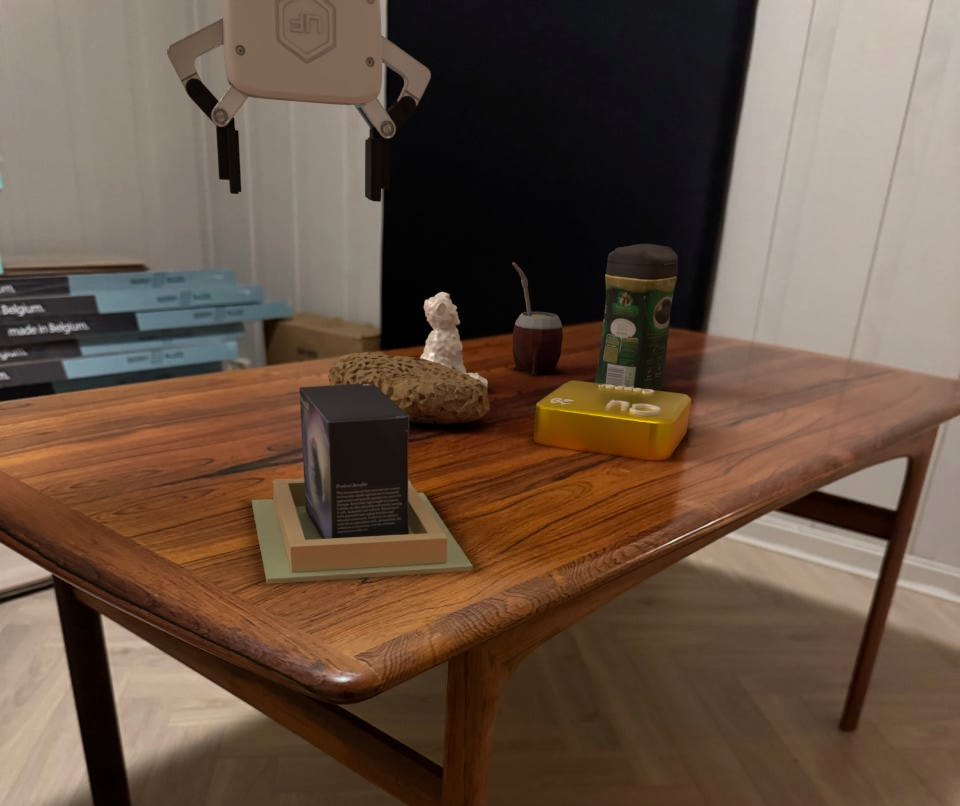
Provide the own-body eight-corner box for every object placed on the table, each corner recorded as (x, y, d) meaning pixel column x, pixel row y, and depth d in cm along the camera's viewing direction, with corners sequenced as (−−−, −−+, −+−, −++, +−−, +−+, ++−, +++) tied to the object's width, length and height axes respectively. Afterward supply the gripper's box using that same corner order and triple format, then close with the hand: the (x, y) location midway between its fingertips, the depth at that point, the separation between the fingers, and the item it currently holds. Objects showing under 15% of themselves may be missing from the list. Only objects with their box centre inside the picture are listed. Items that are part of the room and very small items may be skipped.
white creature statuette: (491, 395, 123) (496, 297, 117) (430, 399, 119) (432, 298, 114) (461, 379, 130) (464, 286, 125) (402, 382, 127) (403, 287, 121)
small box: (299, 511, 79) (294, 383, 74) (376, 505, 81) (375, 381, 77) (327, 558, 71) (323, 417, 66) (412, 550, 73) (414, 413, 68)
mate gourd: (560, 369, 140) (569, 260, 133) (558, 380, 133) (568, 265, 126) (509, 366, 140) (516, 256, 133) (505, 377, 133) (512, 262, 126)
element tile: (688, 431, 111) (695, 390, 109) (666, 465, 98) (673, 418, 96) (564, 415, 115) (568, 374, 113) (528, 444, 103) (531, 400, 100)
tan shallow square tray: (267, 586, 67) (265, 552, 66) (251, 506, 81) (250, 477, 80) (472, 573, 71) (474, 540, 70) (423, 498, 85) (423, 470, 84)
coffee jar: (618, 383, 133) (635, 239, 125) (670, 392, 129) (690, 245, 121) (583, 393, 126) (598, 242, 118) (637, 404, 122) (656, 248, 114)
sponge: (317, 415, 114) (400, 419, 98) (320, 348, 113) (405, 340, 97) (411, 424, 122) (502, 429, 106) (416, 361, 120) (509, 357, 104)
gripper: (151, -139, 54) (176, 192, 62) (447, -99, 59) (436, 206, 66) (156, -110, 61) (178, 187, 68) (422, -76, 65) (415, 200, 73)
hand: (305, 196), depth 67 cm, fingers open, 9 cm apart
